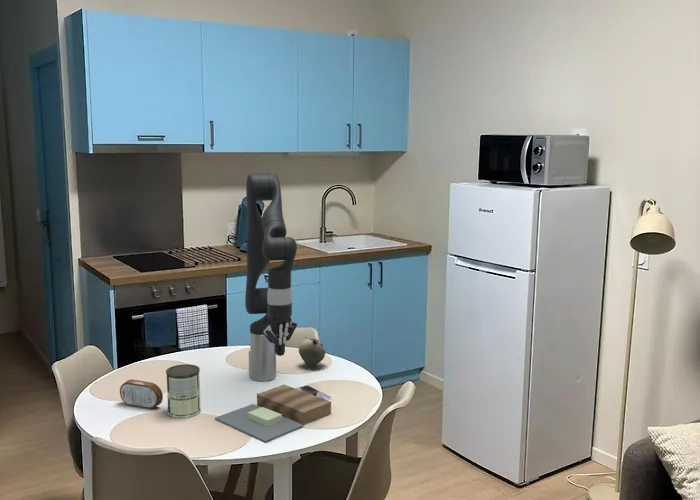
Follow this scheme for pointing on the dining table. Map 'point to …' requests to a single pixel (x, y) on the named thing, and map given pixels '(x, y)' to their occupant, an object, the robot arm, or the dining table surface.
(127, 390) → the tin
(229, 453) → the dining table surface
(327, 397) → the mobile phone
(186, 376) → the coffee can
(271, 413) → the sponge
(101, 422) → the dining table surface
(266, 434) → the mat
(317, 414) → the walnut stand
